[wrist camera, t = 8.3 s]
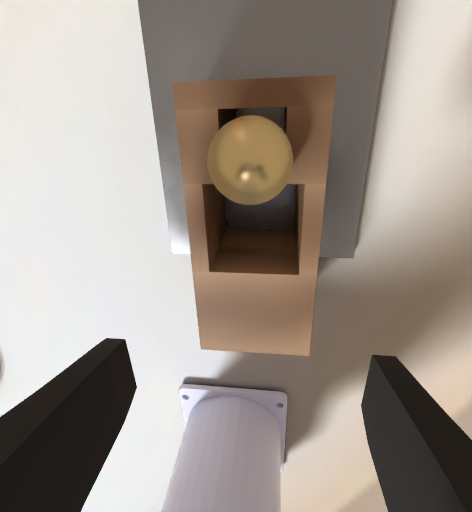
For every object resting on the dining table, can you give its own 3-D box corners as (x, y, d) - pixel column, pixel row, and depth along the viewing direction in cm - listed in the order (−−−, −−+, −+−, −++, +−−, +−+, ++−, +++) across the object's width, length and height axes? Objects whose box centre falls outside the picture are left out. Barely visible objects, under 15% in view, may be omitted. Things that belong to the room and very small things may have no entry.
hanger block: (302, 298, 18) (309, 356, 14) (217, 294, 19) (200, 349, 15) (318, 82, 13) (336, 74, 9) (203, 87, 14) (172, 82, 10)
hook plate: (351, 253, 17) (386, 329, 11) (175, 248, 18) (129, 315, 13) (393, -32, 12) (499, -153, 6) (141, -11, 13) (35, -96, 7)
